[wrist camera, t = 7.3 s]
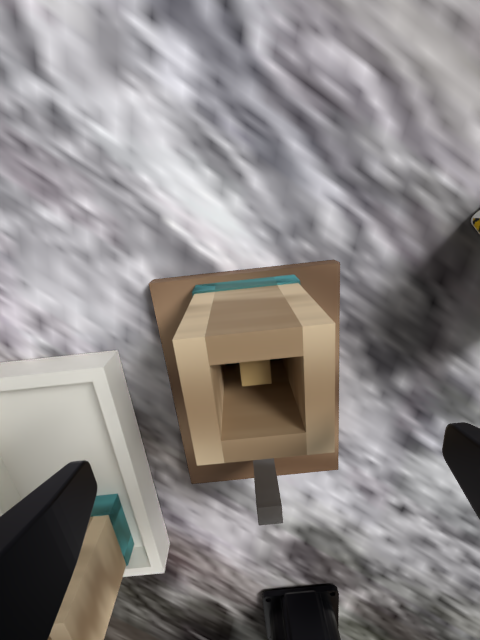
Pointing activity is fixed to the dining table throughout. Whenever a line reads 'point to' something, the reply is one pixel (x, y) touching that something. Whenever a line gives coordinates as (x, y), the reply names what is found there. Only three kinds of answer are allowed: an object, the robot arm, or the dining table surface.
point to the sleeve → (96, 574)
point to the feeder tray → (80, 441)
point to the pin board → (248, 376)
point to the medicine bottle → (476, 221)
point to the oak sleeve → (253, 345)
